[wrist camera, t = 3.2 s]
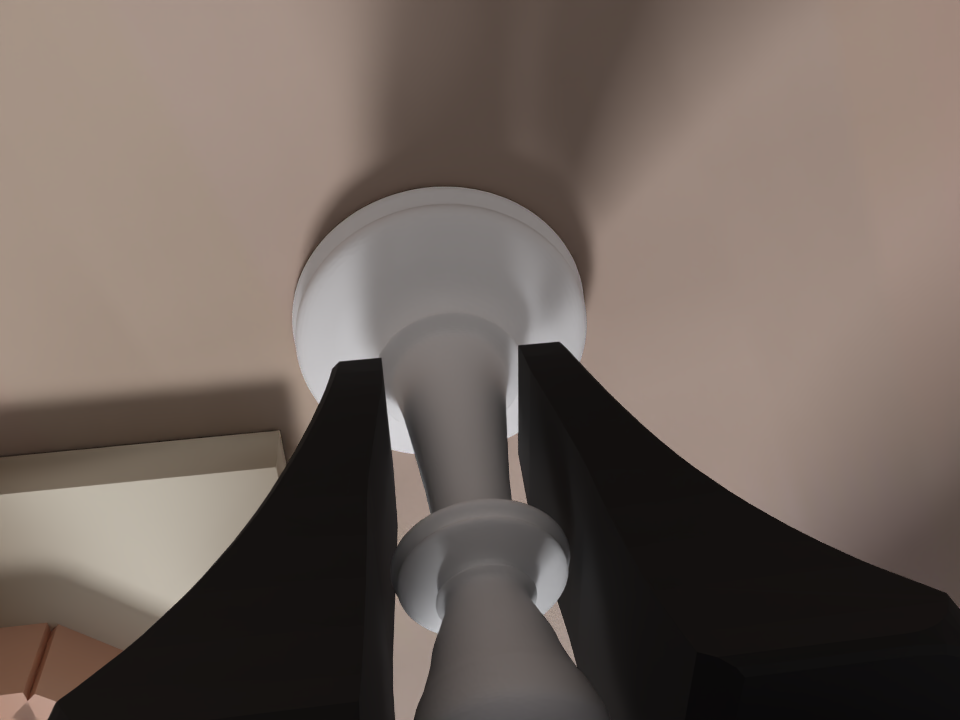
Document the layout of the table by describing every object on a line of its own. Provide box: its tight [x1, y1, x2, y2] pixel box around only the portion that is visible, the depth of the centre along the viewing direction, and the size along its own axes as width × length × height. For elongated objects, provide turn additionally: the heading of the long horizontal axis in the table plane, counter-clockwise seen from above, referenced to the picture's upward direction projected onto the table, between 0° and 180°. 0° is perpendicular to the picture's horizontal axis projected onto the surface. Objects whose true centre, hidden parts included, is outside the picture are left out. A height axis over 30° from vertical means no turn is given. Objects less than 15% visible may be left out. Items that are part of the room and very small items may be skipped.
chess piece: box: [292, 187, 611, 720], centre depth 11 cm, size 5×5×10 cm
